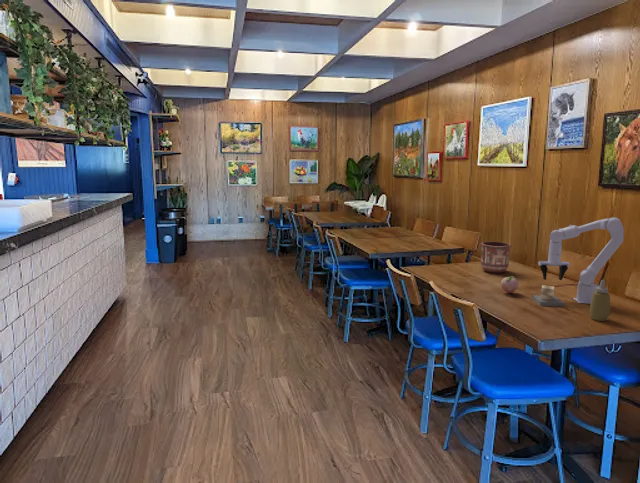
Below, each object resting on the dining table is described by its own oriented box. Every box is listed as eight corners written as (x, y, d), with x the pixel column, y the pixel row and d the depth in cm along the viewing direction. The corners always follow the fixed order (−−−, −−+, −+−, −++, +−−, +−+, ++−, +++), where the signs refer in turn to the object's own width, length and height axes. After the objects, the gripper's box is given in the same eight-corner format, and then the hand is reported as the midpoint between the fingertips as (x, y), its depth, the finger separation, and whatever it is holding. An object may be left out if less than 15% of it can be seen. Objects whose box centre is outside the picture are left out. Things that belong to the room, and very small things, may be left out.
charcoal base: (554, 300, 235) (555, 295, 234) (563, 307, 224) (563, 302, 223) (532, 299, 236) (532, 295, 235) (539, 306, 225) (540, 301, 225)
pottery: (473, 269, 298) (475, 242, 295) (493, 267, 305) (495, 240, 302) (493, 276, 282) (496, 247, 279) (514, 273, 290) (517, 245, 286)
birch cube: (553, 297, 231) (554, 286, 230) (552, 301, 226) (554, 289, 225) (540, 296, 233) (542, 285, 232) (540, 299, 228) (541, 287, 227)
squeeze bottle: (601, 316, 210) (606, 277, 206) (613, 322, 202) (618, 282, 199) (584, 316, 209) (588, 278, 206) (595, 322, 201) (599, 282, 198)
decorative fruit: (503, 290, 251) (504, 272, 250) (519, 292, 246) (520, 274, 245) (497, 294, 244) (499, 275, 243) (513, 296, 239) (515, 278, 237)
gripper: (566, 252, 238) (564, 277, 240) (537, 251, 240) (535, 277, 242) (572, 255, 231) (569, 281, 233) (541, 254, 233) (539, 280, 235)
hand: (552, 279), depth 237 cm, fingers open, 7 cm apart
